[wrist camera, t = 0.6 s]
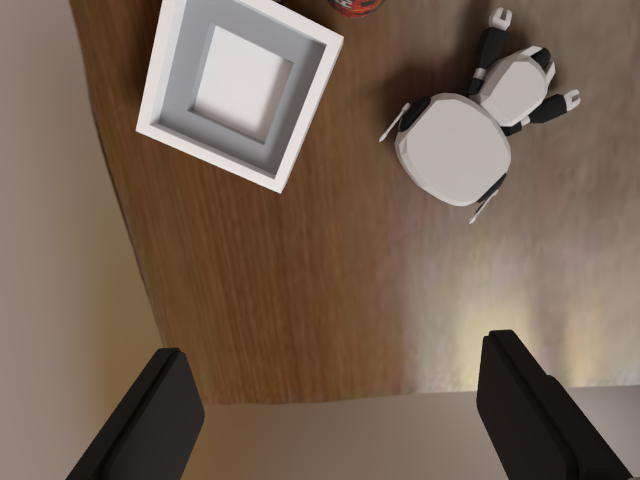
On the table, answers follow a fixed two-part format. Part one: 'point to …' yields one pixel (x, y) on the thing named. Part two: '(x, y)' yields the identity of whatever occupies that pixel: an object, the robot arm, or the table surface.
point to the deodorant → (355, 7)
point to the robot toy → (478, 120)
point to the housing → (237, 84)
